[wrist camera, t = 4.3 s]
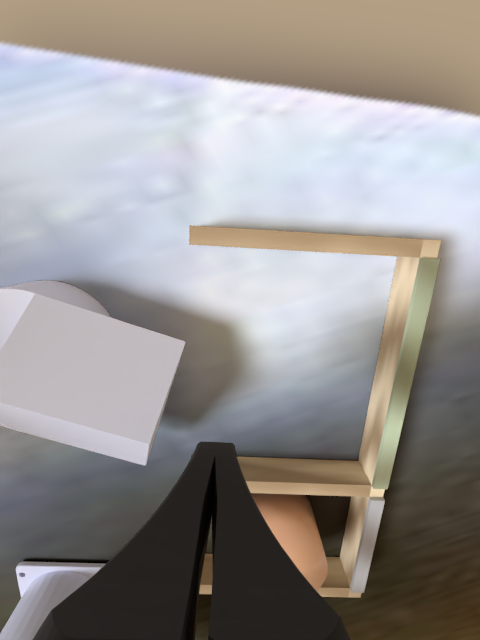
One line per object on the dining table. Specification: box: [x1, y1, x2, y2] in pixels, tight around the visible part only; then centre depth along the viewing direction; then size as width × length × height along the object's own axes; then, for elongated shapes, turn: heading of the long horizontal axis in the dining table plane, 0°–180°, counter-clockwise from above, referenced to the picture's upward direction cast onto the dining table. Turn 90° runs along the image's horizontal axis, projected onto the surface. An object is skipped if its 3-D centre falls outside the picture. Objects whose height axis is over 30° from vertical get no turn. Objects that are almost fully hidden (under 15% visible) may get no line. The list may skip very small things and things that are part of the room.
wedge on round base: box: [0, 280, 186, 466], centre depth 18 cm, size 9×7×13 cm
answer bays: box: [189, 226, 441, 598], centre depth 21 cm, size 28×14×3 cm, turn 177°
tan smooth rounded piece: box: [251, 493, 328, 591], centre depth 23 cm, size 6×6×4 cm
